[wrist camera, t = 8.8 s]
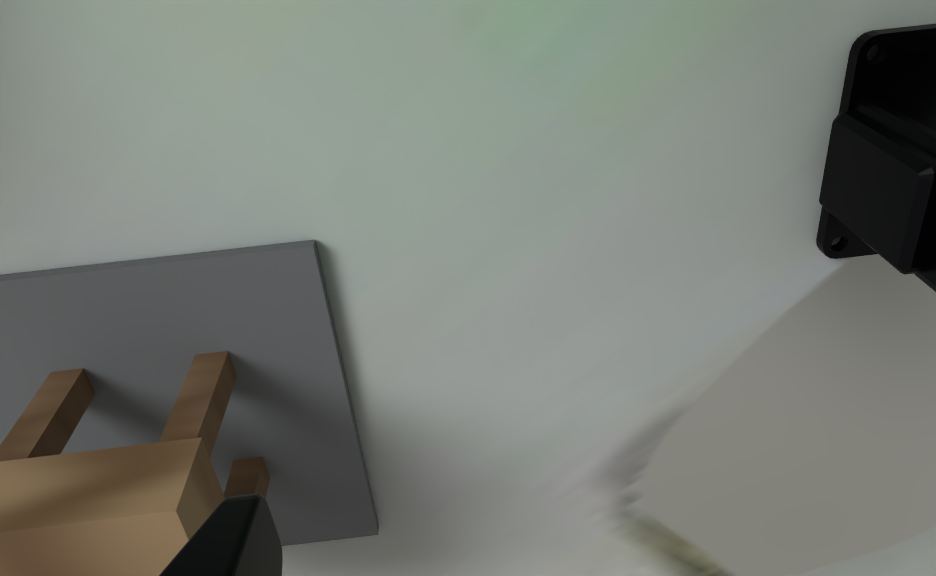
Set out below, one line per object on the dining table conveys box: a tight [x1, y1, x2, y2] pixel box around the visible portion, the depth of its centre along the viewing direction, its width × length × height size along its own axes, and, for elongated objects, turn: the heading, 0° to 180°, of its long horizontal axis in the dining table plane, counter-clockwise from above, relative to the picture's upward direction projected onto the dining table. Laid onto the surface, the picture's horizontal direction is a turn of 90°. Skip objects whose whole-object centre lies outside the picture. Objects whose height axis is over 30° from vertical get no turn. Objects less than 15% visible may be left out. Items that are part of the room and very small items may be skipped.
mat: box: [0, 240, 379, 546], centre depth 24 cm, size 12×12×1 cm
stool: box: [0, 351, 270, 576], centre depth 21 cm, size 6×6×7 cm
